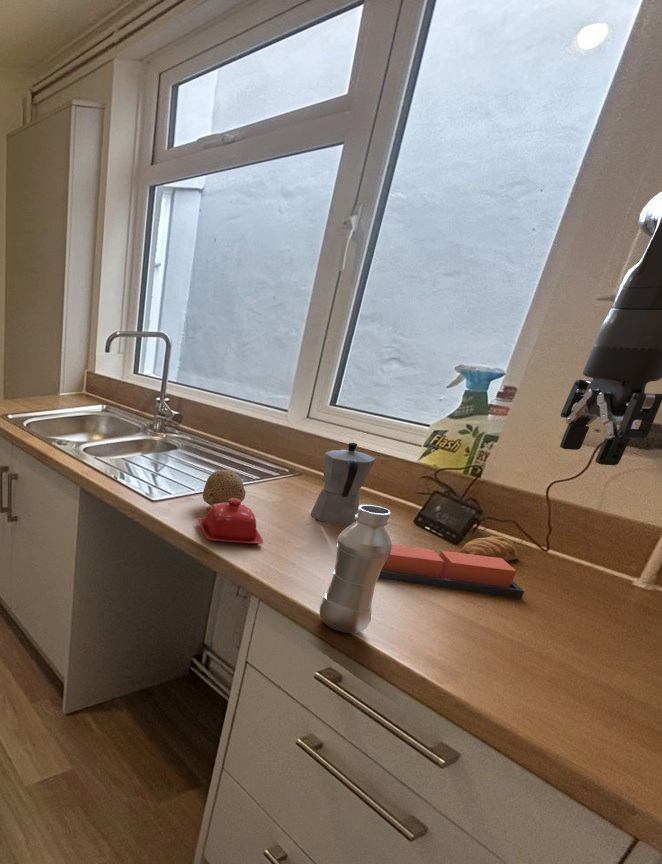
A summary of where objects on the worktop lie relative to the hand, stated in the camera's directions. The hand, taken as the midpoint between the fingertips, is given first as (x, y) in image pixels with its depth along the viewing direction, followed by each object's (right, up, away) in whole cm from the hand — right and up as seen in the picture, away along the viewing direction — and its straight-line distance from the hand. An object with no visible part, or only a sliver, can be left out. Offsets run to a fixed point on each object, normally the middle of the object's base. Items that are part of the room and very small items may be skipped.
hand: (586, 456), depth 79 cm
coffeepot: (-10, -11, +42) cm, 45 cm away
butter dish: (-38, -14, +35) cm, 53 cm away
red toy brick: (-13, -20, +19) cm, 30 cm away
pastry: (+8, -18, +25) cm, 32 cm away
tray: (-8, -21, +18) cm, 28 cm away
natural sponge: (-33, -9, +48) cm, 59 cm away
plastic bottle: (-34, -27, +4) cm, 44 cm away
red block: (-3, -21, +16) cm, 26 cm away
